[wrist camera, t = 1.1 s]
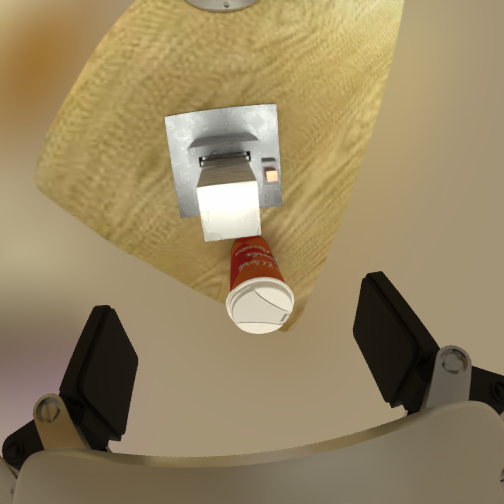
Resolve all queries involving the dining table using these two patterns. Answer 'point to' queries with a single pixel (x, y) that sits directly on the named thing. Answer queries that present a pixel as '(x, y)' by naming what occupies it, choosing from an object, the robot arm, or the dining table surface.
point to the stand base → (225, 149)
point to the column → (228, 197)
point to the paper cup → (257, 288)
